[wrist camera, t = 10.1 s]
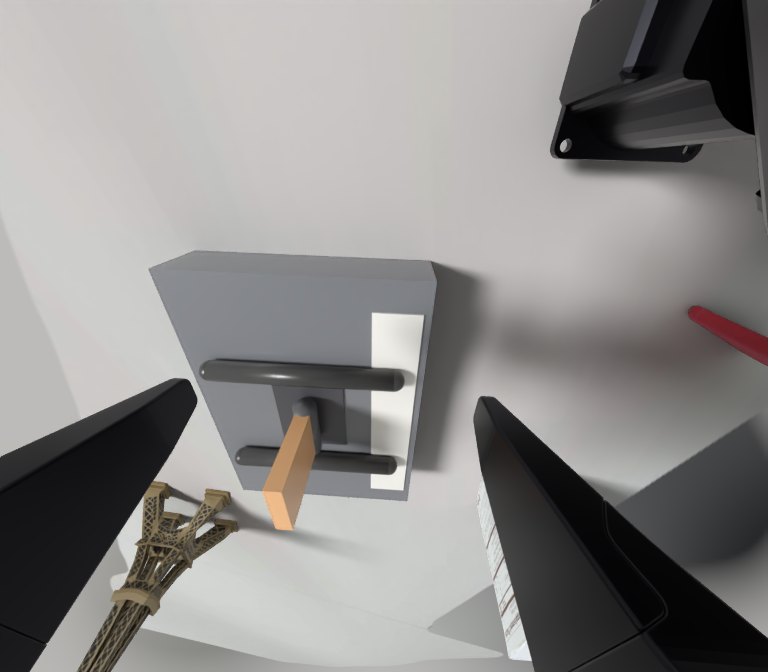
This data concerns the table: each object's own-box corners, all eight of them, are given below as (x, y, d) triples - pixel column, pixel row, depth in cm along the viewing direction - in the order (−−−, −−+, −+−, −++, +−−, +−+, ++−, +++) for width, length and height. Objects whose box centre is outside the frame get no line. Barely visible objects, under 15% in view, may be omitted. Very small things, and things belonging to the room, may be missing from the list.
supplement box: (554, 466, 29) (647, 645, 18) (536, 504, 32) (604, 670, 22) (482, 464, 29) (531, 638, 18) (473, 501, 33) (509, 663, 22)
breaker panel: (430, 260, 18) (440, 291, 13) (406, 462, 29) (407, 516, 25) (194, 250, 18) (126, 277, 14) (261, 453, 30) (236, 504, 25)
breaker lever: (318, 397, 19) (286, 490, 14) (324, 438, 21) (298, 532, 16) (296, 396, 19) (255, 488, 14) (304, 437, 21) (271, 530, 16)
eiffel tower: (144, 479, 34) (-280, 988, 13) (228, 491, 35) (-48, 1003, 13) (165, 519, 40) (-107, 924, 18) (238, 529, 40) (54, 936, 19)
